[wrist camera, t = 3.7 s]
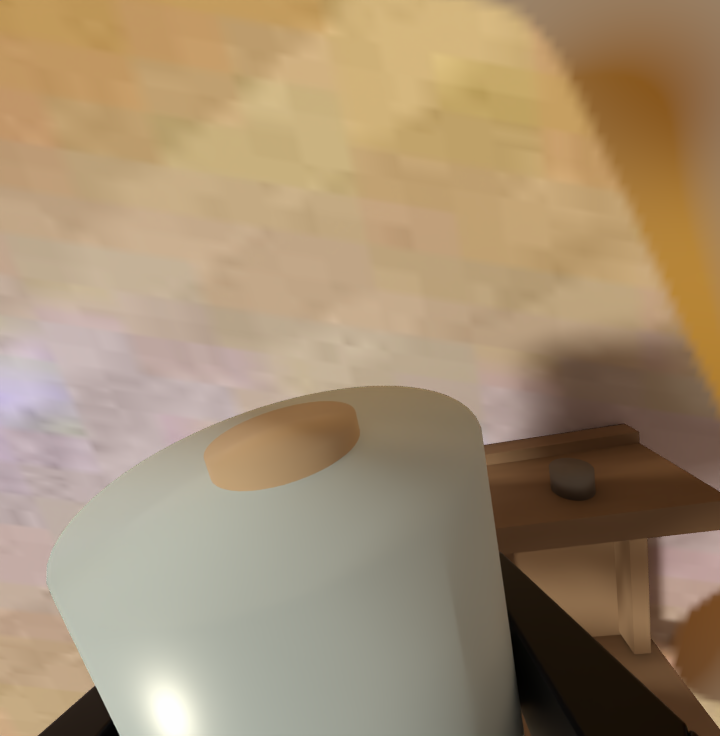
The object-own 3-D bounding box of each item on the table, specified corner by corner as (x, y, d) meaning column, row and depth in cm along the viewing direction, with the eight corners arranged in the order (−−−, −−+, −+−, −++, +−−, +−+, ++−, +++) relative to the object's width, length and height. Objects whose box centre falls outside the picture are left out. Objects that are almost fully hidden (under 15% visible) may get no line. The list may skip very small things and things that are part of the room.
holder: (634, 644, 20) (724, 773, 15) (481, 656, 21) (514, 780, 16) (624, 416, 17) (733, 474, 12) (446, 444, 18) (471, 508, 13)
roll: (491, 663, 9) (638, 1203, 4) (297, 676, 10) (186, 1146, 4) (442, 356, 7) (592, 547, 2) (208, 400, 8) (-161, 627, 3)
